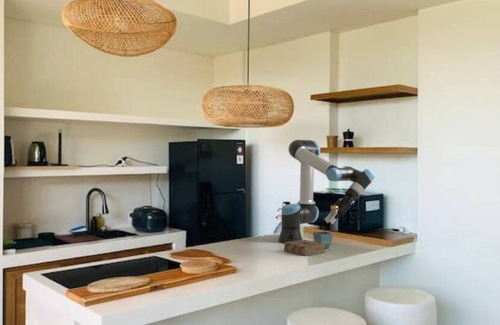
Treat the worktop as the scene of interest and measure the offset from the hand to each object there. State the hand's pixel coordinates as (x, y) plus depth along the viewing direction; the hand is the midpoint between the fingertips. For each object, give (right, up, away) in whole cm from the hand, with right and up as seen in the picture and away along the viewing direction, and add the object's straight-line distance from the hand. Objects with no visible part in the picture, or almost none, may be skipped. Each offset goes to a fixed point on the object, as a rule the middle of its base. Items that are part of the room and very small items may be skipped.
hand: (328, 221), depth 265 cm
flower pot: (-1, -18, +17) cm, 25 cm away
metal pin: (+3, -5, +2) cm, 6 cm away
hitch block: (-13, -17, +4) cm, 22 cm away
